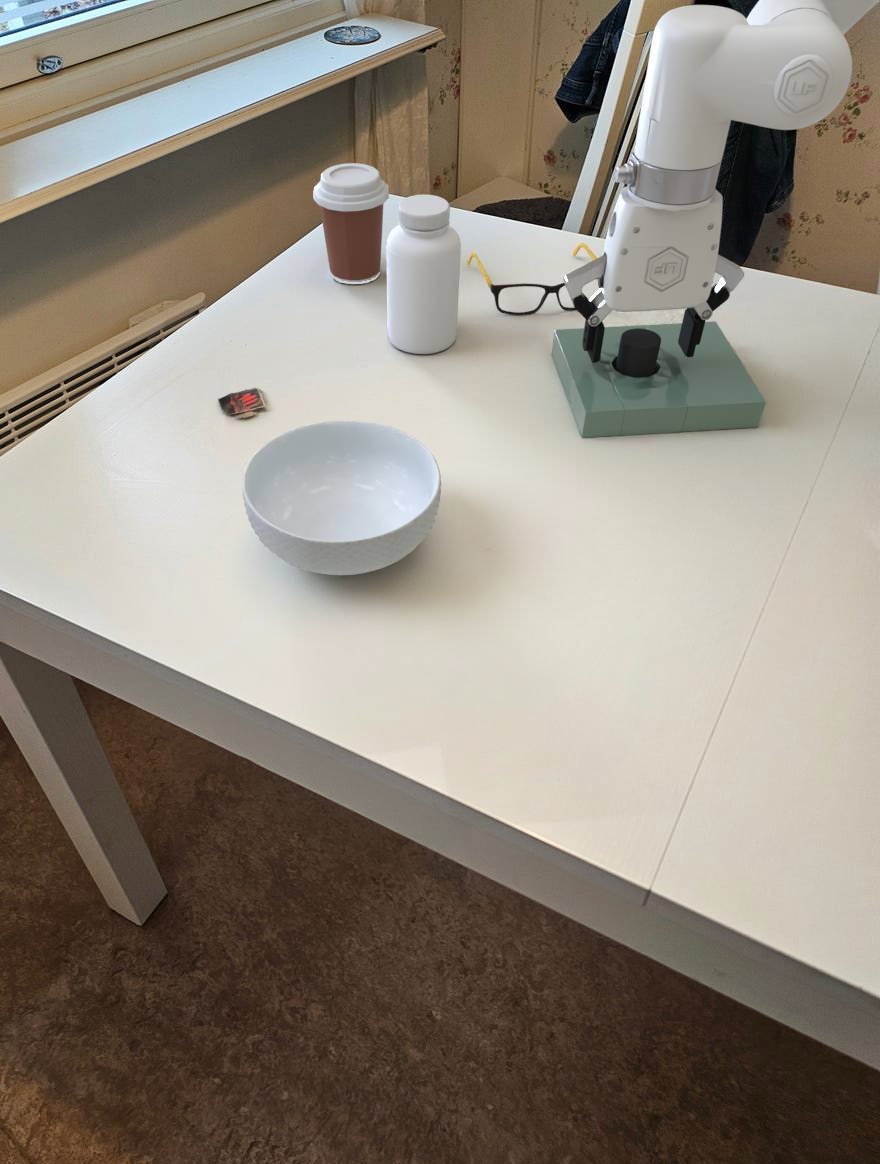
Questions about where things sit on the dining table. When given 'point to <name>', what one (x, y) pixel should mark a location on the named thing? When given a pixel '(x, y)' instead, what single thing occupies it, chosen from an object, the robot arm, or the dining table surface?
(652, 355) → the stopper
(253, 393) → the matchbox
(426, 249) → the pill bottle
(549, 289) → the eyeglasses
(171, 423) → the dining table surface
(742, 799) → the dining table surface
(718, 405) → the plate
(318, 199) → the coffee cup
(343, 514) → the cereal bowl
